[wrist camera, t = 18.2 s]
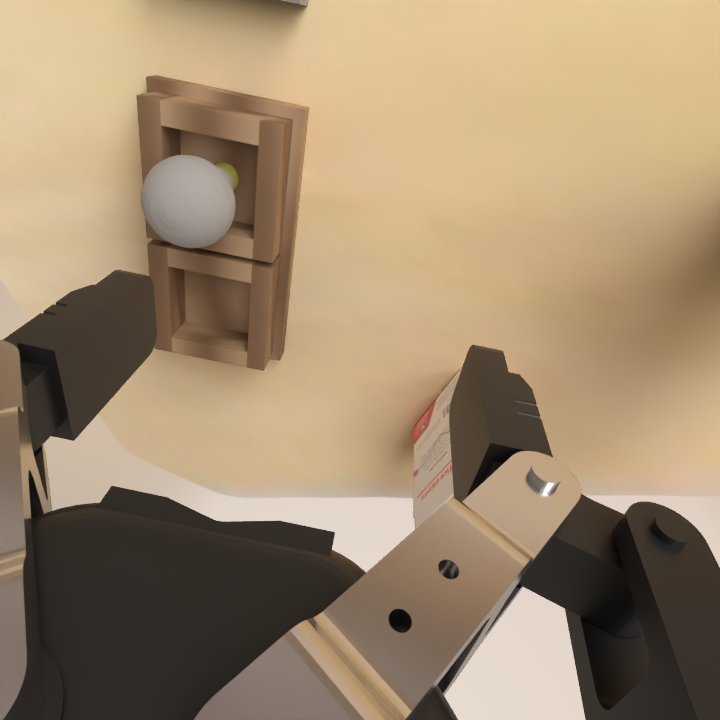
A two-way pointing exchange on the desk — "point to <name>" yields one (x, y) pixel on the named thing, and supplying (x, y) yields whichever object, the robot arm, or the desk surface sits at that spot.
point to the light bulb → (190, 200)
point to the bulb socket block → (297, 2)
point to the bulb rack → (248, 229)
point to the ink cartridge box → (433, 457)
